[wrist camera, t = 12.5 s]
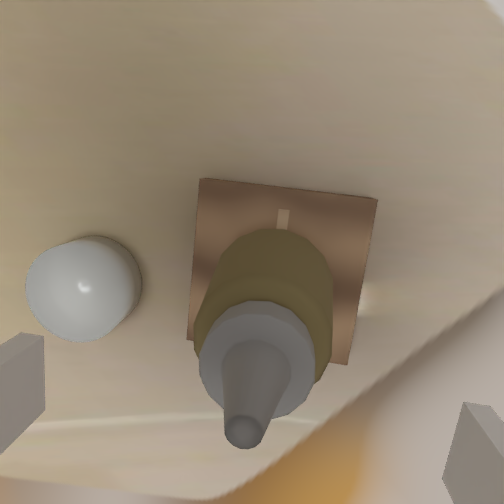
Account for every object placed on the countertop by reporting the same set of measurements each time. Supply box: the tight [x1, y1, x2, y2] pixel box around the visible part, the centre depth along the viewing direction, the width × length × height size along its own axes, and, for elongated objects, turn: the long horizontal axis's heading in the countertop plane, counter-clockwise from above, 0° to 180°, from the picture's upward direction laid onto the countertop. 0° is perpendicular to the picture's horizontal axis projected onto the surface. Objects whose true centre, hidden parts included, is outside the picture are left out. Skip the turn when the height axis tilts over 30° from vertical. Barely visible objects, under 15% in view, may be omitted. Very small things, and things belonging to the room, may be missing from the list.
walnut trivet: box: [187, 178, 378, 365], centre depth 30 cm, size 13×13×3 cm
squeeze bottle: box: [193, 229, 333, 449], centre depth 20 cm, size 8×8×18 cm
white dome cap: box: [25, 236, 142, 342], centre depth 32 cm, size 8×8×4 cm
